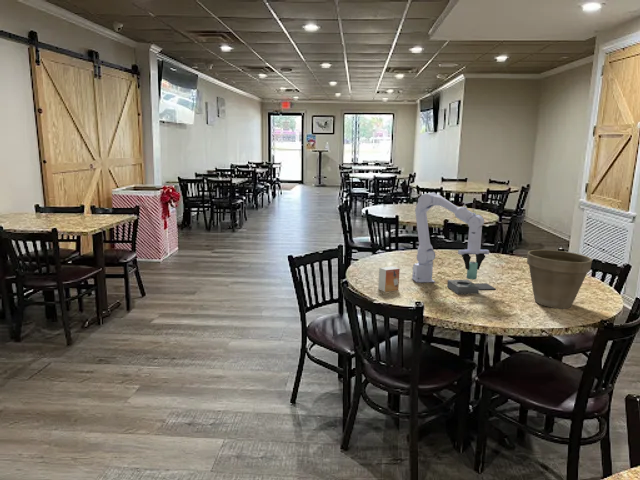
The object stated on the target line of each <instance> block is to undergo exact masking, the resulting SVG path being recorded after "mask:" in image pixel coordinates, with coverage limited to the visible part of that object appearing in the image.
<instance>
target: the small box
mask: <svg viewBox="0 0 640 480" xmlns="http://www.w3.org/2000/svg"><path fill="white" fill-rule="evenodd" d="M400 270H401V269H400V268H399V267H396V266H393V265H392V266H384V267H379V268H378V285H377V288H378V290H380V291H382V292H384V293H386V292H395V291H399V284H400Z"/></svg>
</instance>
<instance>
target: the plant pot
mask: <svg viewBox="0 0 640 480" xmlns="http://www.w3.org/2000/svg"><path fill="white" fill-rule="evenodd" d="M526 253H527V256H526V264H527V265H528V266H529V273H530V281H531V286H532V287H531V288H532V293H533V294H532V295H533V299H534V301H535V303H537V304H539V305H542V306H545V307H548V308H553V309H568V308H571V307H572V305H573V304H574V302H575V299H576V297H577V296H578V293H579V291H580V289H581V287H582V284H583V283H584V280H585V278H586V276H587V275H588V274H587V273H589V272H590V271H591V268H592V263H593V259H592V258H591V257H589V256H586V255H583V254H580V253H576V252H575V253H574V252H570V251H564V250H563V251H562V250H554V249H533V250H532V249H531V250H529V251H528V252H526Z"/></svg>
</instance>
